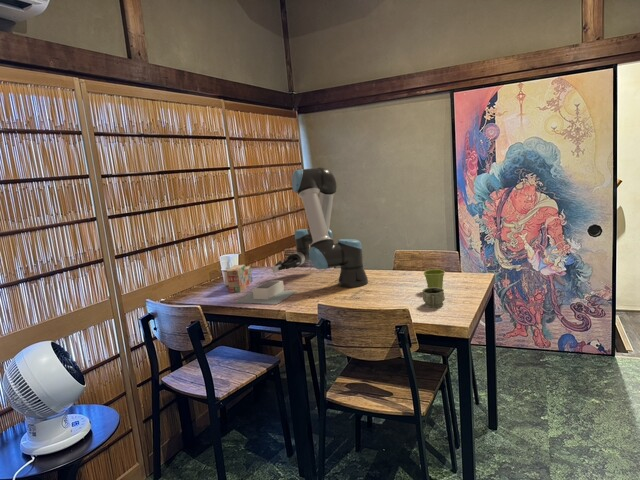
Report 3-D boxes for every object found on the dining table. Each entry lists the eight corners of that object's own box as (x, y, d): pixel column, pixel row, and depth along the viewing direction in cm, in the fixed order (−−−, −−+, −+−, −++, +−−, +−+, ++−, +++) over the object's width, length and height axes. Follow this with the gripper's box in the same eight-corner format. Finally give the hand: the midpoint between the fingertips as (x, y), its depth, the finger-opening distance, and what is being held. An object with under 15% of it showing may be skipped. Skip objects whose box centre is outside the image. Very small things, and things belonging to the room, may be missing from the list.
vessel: (423, 300, 184) (422, 286, 183) (445, 300, 182) (444, 285, 181) (422, 309, 173) (421, 294, 172) (445, 309, 171) (444, 294, 170)
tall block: (282, 280, 220) (266, 289, 206) (284, 290, 221) (267, 299, 207) (269, 280, 224) (252, 288, 210) (270, 289, 225) (253, 299, 210)
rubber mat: (296, 292, 217) (296, 291, 217) (276, 304, 199) (276, 303, 199) (256, 290, 227) (256, 289, 227) (234, 302, 209) (234, 301, 209)
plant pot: (434, 294, 190) (433, 275, 189) (420, 290, 199) (419, 272, 197) (450, 290, 195) (449, 271, 193) (435, 286, 203) (434, 268, 201)
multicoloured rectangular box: (242, 282, 250) (239, 261, 248) (252, 281, 249) (250, 260, 247) (229, 292, 229) (226, 270, 227) (240, 292, 228) (237, 269, 226)
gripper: (306, 266, 240) (285, 277, 219) (286, 266, 246) (264, 277, 225) (305, 253, 239) (284, 263, 218) (284, 253, 245) (262, 263, 224)
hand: (274, 270), depth 221 cm, fingers closed
